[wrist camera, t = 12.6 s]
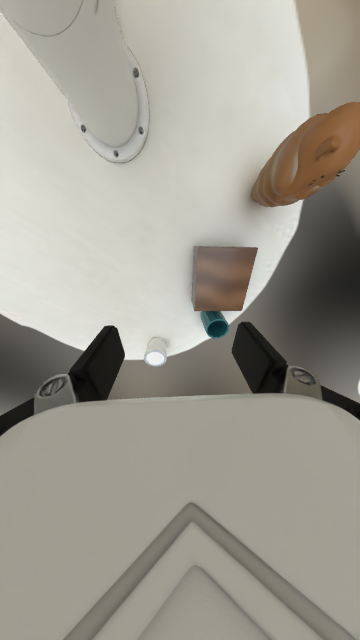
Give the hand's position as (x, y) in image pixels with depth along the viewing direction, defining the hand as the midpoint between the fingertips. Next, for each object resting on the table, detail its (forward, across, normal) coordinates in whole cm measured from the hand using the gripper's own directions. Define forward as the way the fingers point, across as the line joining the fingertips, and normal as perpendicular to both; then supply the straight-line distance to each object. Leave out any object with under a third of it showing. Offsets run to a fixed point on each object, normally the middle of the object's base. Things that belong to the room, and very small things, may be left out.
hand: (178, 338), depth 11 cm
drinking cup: (+24, -11, +10) cm, 28 cm away
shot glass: (+28, +7, +25) cm, 38 cm away
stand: (+28, -11, +2) cm, 30 cm away
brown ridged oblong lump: (+29, -18, -15) cm, 37 cm away
